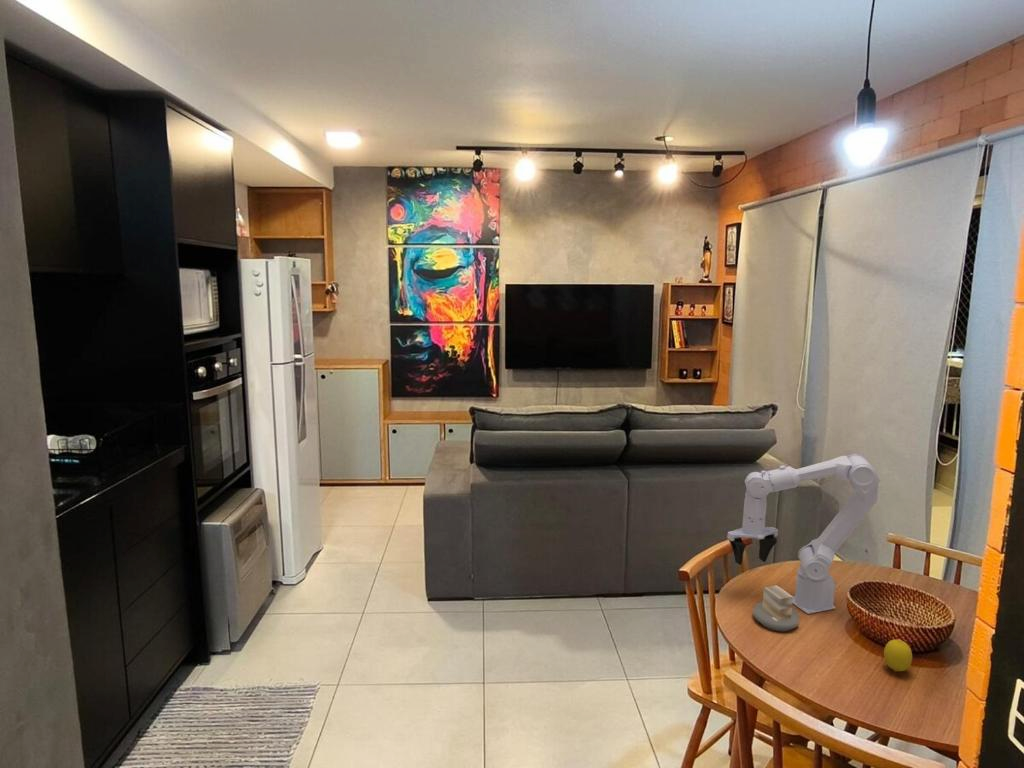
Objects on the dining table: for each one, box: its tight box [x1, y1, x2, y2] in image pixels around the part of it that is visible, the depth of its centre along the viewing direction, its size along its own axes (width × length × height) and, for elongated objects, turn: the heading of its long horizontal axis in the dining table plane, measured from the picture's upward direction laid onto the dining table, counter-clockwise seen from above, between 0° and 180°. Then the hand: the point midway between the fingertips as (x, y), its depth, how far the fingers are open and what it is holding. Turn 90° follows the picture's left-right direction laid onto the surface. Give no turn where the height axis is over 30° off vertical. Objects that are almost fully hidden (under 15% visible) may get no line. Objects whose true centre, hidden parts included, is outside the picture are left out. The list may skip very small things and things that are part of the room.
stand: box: [752, 601, 800, 632], centre depth 162 cm, size 11×11×2 cm
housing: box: [762, 584, 793, 620], centre depth 161 cm, size 4×6×6 cm, turn 18°
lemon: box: [883, 638, 913, 673], centre depth 142 cm, size 6×6×8 cm
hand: (750, 561), depth 173 cm, fingers open, 7 cm apart
